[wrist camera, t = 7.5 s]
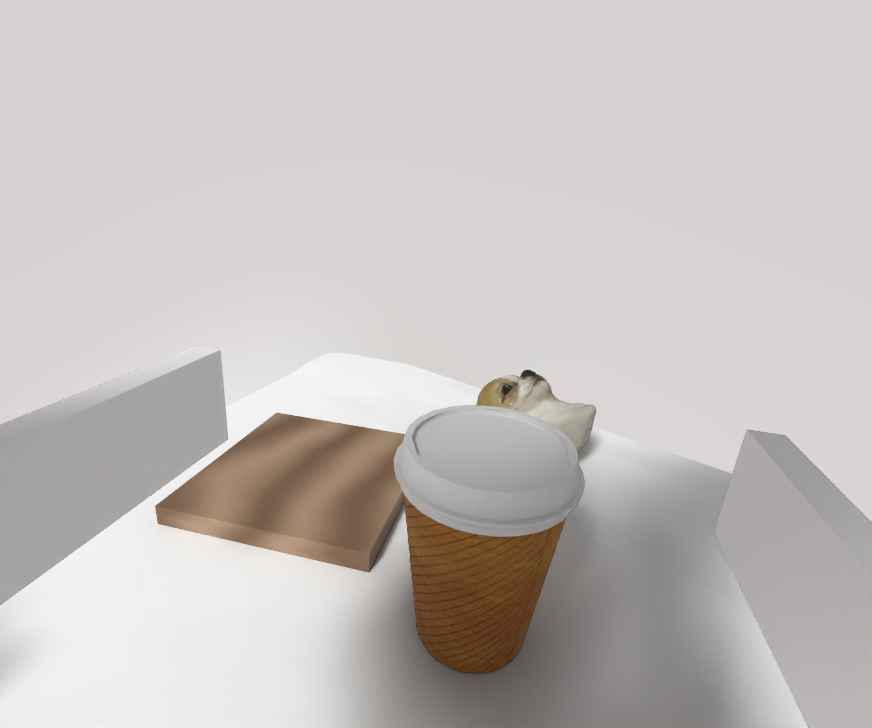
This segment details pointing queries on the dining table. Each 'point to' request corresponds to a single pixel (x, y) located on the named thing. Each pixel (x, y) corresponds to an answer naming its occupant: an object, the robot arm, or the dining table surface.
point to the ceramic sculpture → (540, 404)
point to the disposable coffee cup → (482, 526)
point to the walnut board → (297, 491)
